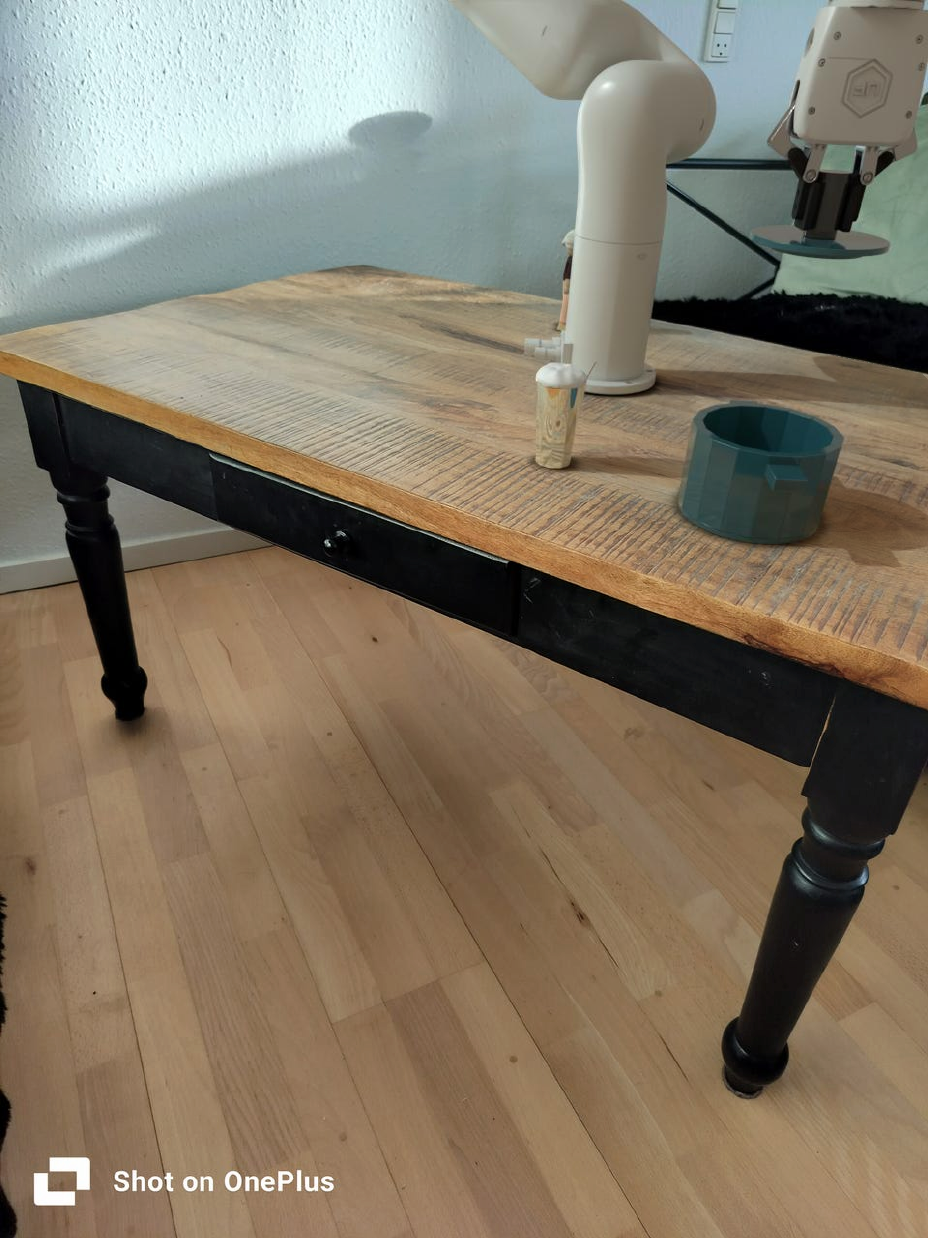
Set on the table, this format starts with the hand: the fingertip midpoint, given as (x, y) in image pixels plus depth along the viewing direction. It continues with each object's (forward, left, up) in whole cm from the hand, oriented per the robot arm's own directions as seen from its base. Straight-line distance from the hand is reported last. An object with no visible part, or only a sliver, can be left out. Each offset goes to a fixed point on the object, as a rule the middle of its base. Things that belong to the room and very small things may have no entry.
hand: (821, 226), depth 81 cm
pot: (-8, -22, -19) cm, 30 cm away
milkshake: (-24, -14, -19) cm, 34 cm away
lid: (0, 0, -1) cm, 1 cm away
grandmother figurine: (-21, +34, -19) cm, 44 cm away
